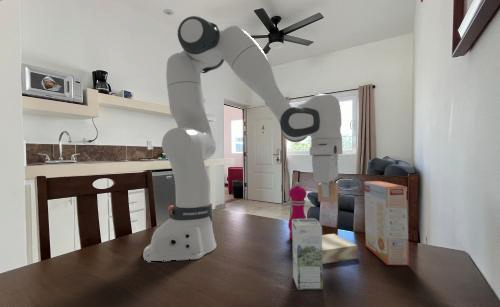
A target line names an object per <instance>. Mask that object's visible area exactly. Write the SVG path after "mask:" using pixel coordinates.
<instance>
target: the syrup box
mask: <svg viewBox="0 0 500 307" xmlns="http://www.w3.org/2000/svg"><path fill="white" fill-rule="evenodd" d="M322 235H323V226H322V224H321V223H320V222H319V220H318V219H316V218H307V219H292V239H291V240H292V244H291V245H292V246H291V247H292V250H291V251H292V278H293V281H294V284H295V286H296V288H297V291H309V290H324V289H323V288H324V284H323V283H324V282H323V281H324V279H323V278H324V276H323V272H324V271H323V268H324V267H323V263H322Z"/></svg>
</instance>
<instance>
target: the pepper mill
mask: <svg viewBox="0 0 500 307" xmlns="http://www.w3.org/2000/svg"><path fill="white" fill-rule="evenodd" d="M288 195H289V197H290V204H291V207H292V211H291V215H290V218H289V219H288V220H289V221H288V224H287V226H288V229H289V230H290V233H289V239H290V240H292V219H308V218H307V216H306V214H305V205H306V200H305V198H306V197H307V191H306V189H305V188H304V187H303V186H301V183H300V181H299V182H298V181H295V183H294V186H293V187H291V188H290V189H289V193H288Z"/></svg>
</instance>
